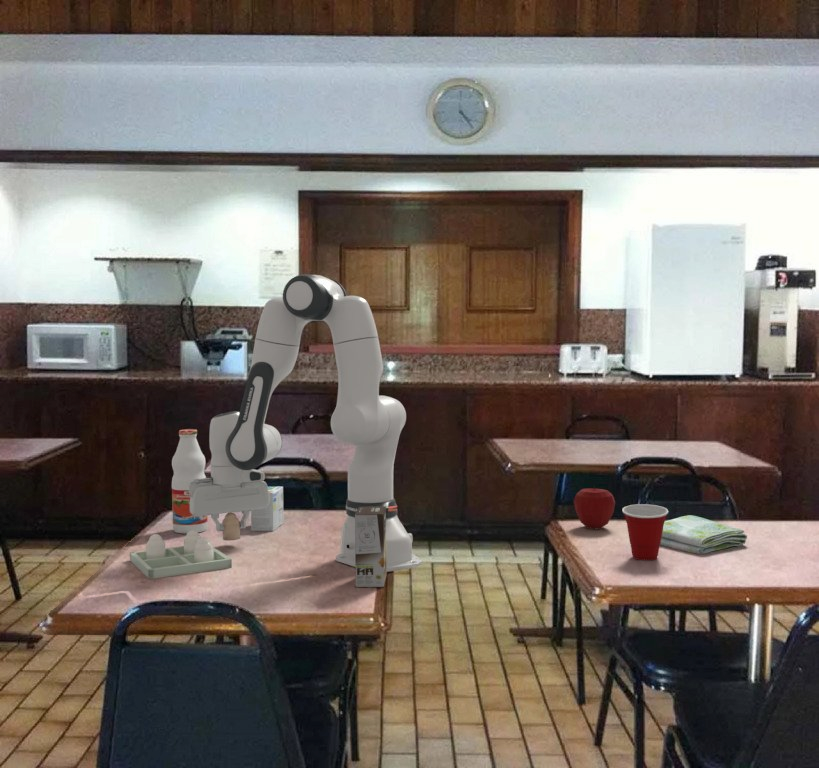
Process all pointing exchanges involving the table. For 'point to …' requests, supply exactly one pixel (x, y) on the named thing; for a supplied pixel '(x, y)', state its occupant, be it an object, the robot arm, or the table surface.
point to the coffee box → (370, 546)
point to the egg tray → (177, 563)
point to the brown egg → (231, 527)
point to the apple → (594, 507)
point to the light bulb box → (269, 512)
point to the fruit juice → (186, 482)
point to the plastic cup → (645, 529)
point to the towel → (700, 535)
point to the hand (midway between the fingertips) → (231, 529)
